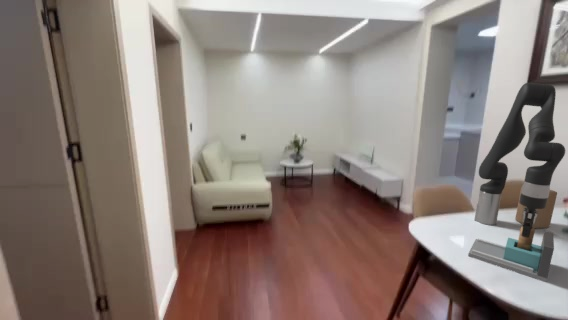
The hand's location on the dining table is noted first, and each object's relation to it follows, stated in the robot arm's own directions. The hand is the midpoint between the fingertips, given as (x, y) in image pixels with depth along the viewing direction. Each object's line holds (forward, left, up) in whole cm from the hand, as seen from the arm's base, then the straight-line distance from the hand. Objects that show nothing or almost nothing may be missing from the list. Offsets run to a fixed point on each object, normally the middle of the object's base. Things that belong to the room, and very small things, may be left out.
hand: (525, 232), depth 102 cm
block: (+2, +49, -14) cm, 51 cm away
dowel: (0, 0, -11) cm, 11 cm away
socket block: (0, 0, -12) cm, 12 cm away
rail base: (-4, 0, -14) cm, 14 cm away
